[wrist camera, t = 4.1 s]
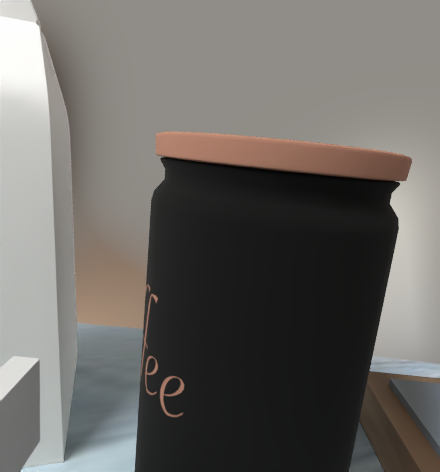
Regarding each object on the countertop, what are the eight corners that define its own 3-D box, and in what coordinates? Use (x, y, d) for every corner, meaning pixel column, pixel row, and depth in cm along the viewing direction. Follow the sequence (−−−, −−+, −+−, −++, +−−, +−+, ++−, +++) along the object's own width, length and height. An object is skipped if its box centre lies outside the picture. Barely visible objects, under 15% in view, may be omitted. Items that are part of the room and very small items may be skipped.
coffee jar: (164, 406, 26) (185, 140, 22) (320, 433, 25) (370, 158, 21) (96, 572, 15) (113, 122, 12) (359, 629, 14) (472, 157, 11)
